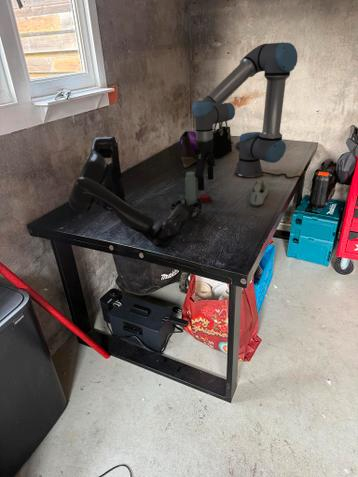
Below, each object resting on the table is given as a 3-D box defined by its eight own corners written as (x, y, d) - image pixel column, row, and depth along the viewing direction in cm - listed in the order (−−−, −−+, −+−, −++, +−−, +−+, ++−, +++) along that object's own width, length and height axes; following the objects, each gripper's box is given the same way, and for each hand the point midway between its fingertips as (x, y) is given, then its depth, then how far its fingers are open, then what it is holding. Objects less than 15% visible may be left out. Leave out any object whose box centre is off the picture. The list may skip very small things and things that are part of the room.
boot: (199, 157, 223) (198, 126, 213) (193, 168, 203) (192, 135, 193) (186, 157, 225) (185, 126, 215) (179, 168, 205) (177, 135, 195)
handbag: (220, 159, 217) (220, 119, 204) (207, 157, 221) (207, 119, 208) (232, 151, 231) (233, 113, 219) (221, 150, 236) (221, 113, 223)
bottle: (185, 213, 149) (183, 172, 140) (195, 211, 150) (193, 170, 140) (188, 217, 145) (186, 175, 136) (197, 215, 146) (196, 174, 137)
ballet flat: (269, 188, 169) (270, 173, 165) (265, 208, 149) (266, 191, 145) (252, 187, 171) (253, 172, 167) (246, 206, 151) (247, 190, 147)
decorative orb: (204, 151, 235) (204, 129, 228) (194, 156, 225) (193, 134, 217) (186, 149, 243) (186, 128, 235) (175, 154, 232) (174, 132, 224)
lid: (211, 202, 158) (211, 197, 157) (200, 203, 158) (200, 198, 157) (209, 197, 163) (209, 193, 162) (198, 198, 163) (198, 194, 161)
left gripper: (164, 222, 137) (178, 205, 151) (197, 226, 133) (208, 208, 146) (163, 205, 133) (177, 190, 147) (197, 209, 129) (208, 192, 143)
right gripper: (205, 132, 157) (207, 175, 168) (186, 147, 138) (189, 194, 149) (221, 133, 154) (221, 176, 165) (202, 148, 135) (204, 195, 146)
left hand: (193, 199), depth 147 cm, fingers closed on bottle, 4 cm apart
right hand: (206, 184), depth 157 cm, fingers open, 13 cm apart
